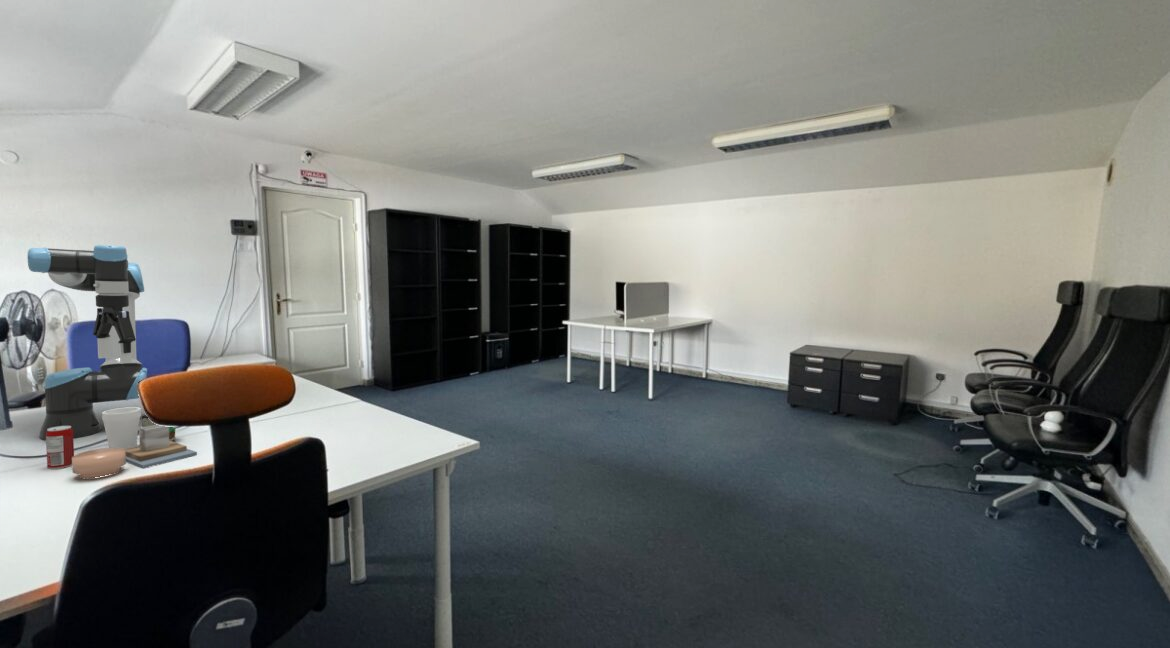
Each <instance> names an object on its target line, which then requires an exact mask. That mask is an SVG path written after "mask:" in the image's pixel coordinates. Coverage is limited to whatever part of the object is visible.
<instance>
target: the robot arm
mask: <svg viewBox="0 0 1170 648" xmlns="http://www.w3.org/2000/svg"><path fill="white" fill-rule="evenodd" d="M27 267H28V269H29V270H30V272H33V273H41V274H45V273H47V274H48V277H49V278H50V280H51V281H52V282H53V283H54V284H56V285H59V286H61V287H65V288H68V289H72V290H76V291H81V292H83V291H84V292H95V293H96V295H95V306H96V307H98V308H97V309H96V318H95V323H94V327H93V332H92V334H93V336H95V337H96V340H97V358H98V359H99V360H101V359H105V361H104V362H103V363H102V364H100V366H99V370H97V371H96V370H95V371H93V370H92V368H91V367H77V368H71V369H70V368H69V369H64V370H60V371H55V372H52V373H50V374H48V375H47V376H45V377H44V387H43V389H44V394H45V395H44V397H45V418H44V420H43V423H42V425H41V428H40V430H39V439H41V440H45V441H46V432H47V429H49V428H52V427H58V426H71V428H72V430H73V439H75V438H79V437H80V438H81V437H86V436H90V435H93V434H96V433H99V432H100V431H101V430H102V429H101V422H100V421H99V419H98V417H97V415H96V413H95V411H94V404H96V403H105V402H107V403H108V402H109V403H110V402H118V401H129V400H136V399H138V400H139V399H140V398H139V396H138V392H137V385H138V382H139V381H141V380H143V379H146V380H147V376H148V368H146V367H143V363H142V362H140V361H139V360H138V359H137V335H136V334H137V333H136V305H135V304H136V302H135V301H136V300H137V299H139V298H140V295H141V294H140V293H144V292H145V285H144V281H143V279H144V278H143V275H142V272H141V267H140V265H139V264H137V263H135V262H129V261H128V253H127V248H126V247H125V246H121V245H106V244H96V245H94V247H93V250H87V249H82V250H81V249H79V250H78V249H64V248H62V249H61V248H49V247H31V248H29V249H28V251H27Z"/></svg>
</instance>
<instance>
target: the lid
mask: <svg viewBox="0 0 1170 648" xmlns="http://www.w3.org/2000/svg"><path fill="white" fill-rule="evenodd" d="M138 436H139V446H136V447H134V448H129V449H125V454H126V456H127V457H130V458H132V459H135V460H138V461H140V462H142V461H146V460H150V459H154V458H158V457H162V456H166V455H170V454H174V453H179V452H183V451H187V449H188V448H187V445H185V444H181V443H178V442H175V441H174V442H172V441H169V427H165V426H159V425H153V426H148V427H143V428H142V427H139V428H138Z"/></svg>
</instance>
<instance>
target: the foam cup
mask: <svg viewBox="0 0 1170 648" xmlns="http://www.w3.org/2000/svg"><path fill="white" fill-rule="evenodd" d="M141 414H142V408H141V407H137V406H128V407H119V408H118V407H117V408H113V409H112V408H111V409H108V410H103V411H102V412H101V420H102V422H103V425H104V426H103V427H104V429H105V430H104V431H105V435H106V439H107V442H108V448H124V449H129V448H134V447H137V443H138V436H139V428H140V427H139V426H140V421H141V420H140V416H141Z"/></svg>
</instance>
